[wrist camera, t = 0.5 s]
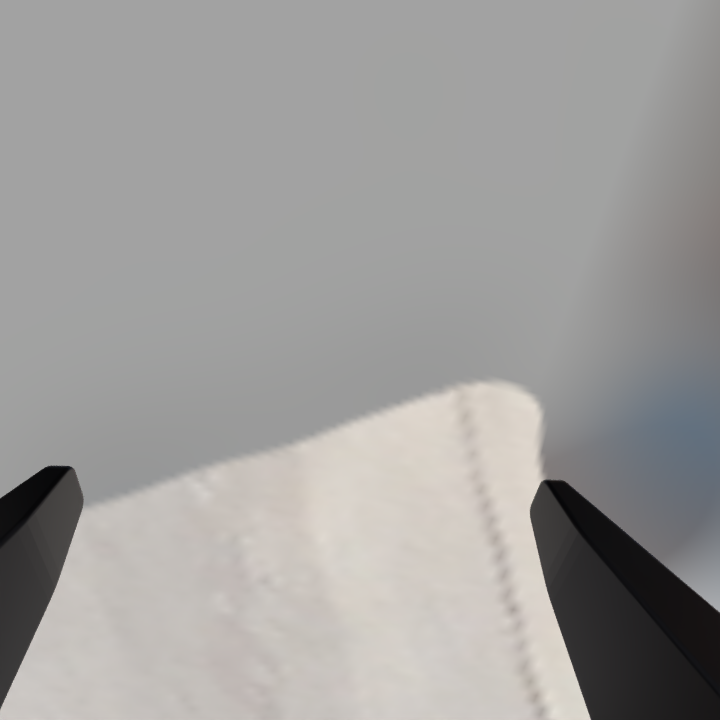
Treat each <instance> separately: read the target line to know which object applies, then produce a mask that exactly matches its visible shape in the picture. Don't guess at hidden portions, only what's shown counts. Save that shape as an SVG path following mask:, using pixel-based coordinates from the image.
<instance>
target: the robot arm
mask: <svg viewBox="0 0 720 720" xmlns="http://www.w3.org/2000/svg"><path fill="white" fill-rule="evenodd" d="M82 508H83V494H82V491H81V488H80V484H79V481H78V478H77V475H76V472H75V470H74V469H73V468H72V467H70V466H48V467H45V468H44V469H42V470H40V471H39V472H38V473H36V474H35V475H33V476H32V477H30V478H29V479H28V480H26V481H25V482H23V483H22V484H20V485H19V486H17V487H16V488H15V489H13V490H12V491H10V492H9V493H7V494H6V495H4V496H3V497H2V498H0V709H1V706H2V704H3V702H4V700H5V698H6V696H7V693H8V691H9V689H10V687H11V685H12V683H13V680H14V678H15V676H16V674H17V672H18V669H19V667H20V665H21V663H22V661H23V659H24V656H25V654H26V652H27V650H28V648H29V645H30V643H31V641H32V639H33V637H34V635H35V632H36V630H37V628H38V626H39V624H40V622H41V619H42V617H43V615H44V613H45V611H46V608H47V606H48V604H49V602H50V600H51V597H52V595H53V593H54V590H55V588H56V585H57V582H58V580H59V577H60V574H61V571H62V568H63V565H64V562H65V559H66V556H67V553H68V550H69V547H70V544H71V541H72V538H73V535H74V532H75V529H76V526H77V523H78V520H79V517H80V514H81V511H82ZM530 518H531V523H532V527H533V531H534V536H535V540H536V545H537V549H538V553H539V558H540V562H541V567H542V571H543V575H544V580H545V584H546V587H547V591H548V594H549V598H550V601H551V604H552V607H553V610H554V613H555V616H556V619H557V621H558V624H559V627H560V630H561V633H562V636H563V639H564V642H565V645H566V648H567V651H568V654H569V657H570V660H571V662H572V665H573V668H574V671H575V674H576V677H577V680H578V683H579V686H580V689H581V692H582V695H583V698H584V701H585V704H586V706H587V709H588V712H589V715H590V718H591V720H720V612H718V611H717V610H716V609H715V608H714V607H713V606H711V605H710V604H709V603H708V602H707V601H706V600H704V599H703V598H702V597H701V596H700V595H698V594H697V593H696V592H695V591H694V590H692V589H691V588H690V587H689V586H688V585H687V584H685V583H684V582H683V581H682V580H681V579H680V578H679V577H677V576H676V575H675V574H674V573H673V572H671V571H670V570H669V569H668V568H667V567H665V566H664V565H663V564H662V563H661V562H660V561H658V560H657V559H656V558H655V557H654V556H653V555H651V554H650V553H649V552H648V551H647V550H645V549H644V548H643V547H642V546H641V545H640V544H639V543H637V542H636V541H635V540H634V539H633V538H631V537H630V536H629V535H628V534H627V533H626V532H624V531H623V530H622V529H621V528H620V527H619V526H617V525H616V524H615V523H614V522H613V521H611V520H610V519H609V518H608V517H607V516H606V515H604V514H603V513H602V512H601V511H600V510H598V509H597V508H596V507H595V506H594V505H593V504H591V503H590V502H589V501H588V500H587V499H585V498H584V497H583V496H582V495H581V494H579V492H577V491H576V490H575V489H574V488H573V487H571V486H570V485H569V484H568V483H566V482H565V481H563V480H548V479H546V480H543V481H542V482H541V483H540V485H539V488H538V490H537V492H536V495H535V497H534V500H533V502H532V504H531V508H530Z"/></svg>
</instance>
